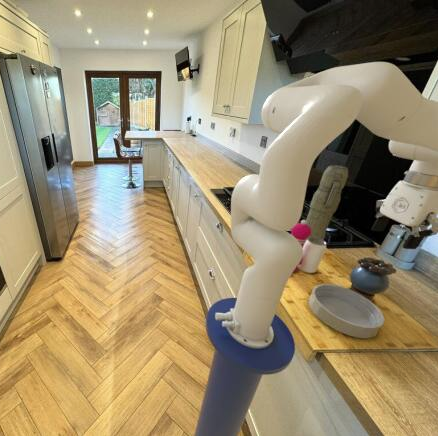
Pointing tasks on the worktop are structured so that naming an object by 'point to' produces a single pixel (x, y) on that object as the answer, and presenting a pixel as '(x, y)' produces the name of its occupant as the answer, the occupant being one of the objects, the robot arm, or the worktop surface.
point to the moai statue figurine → (326, 200)
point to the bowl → (346, 310)
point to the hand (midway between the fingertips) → (391, 238)
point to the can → (312, 254)
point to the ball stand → (368, 282)
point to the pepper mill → (301, 234)
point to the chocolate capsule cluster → (381, 269)
